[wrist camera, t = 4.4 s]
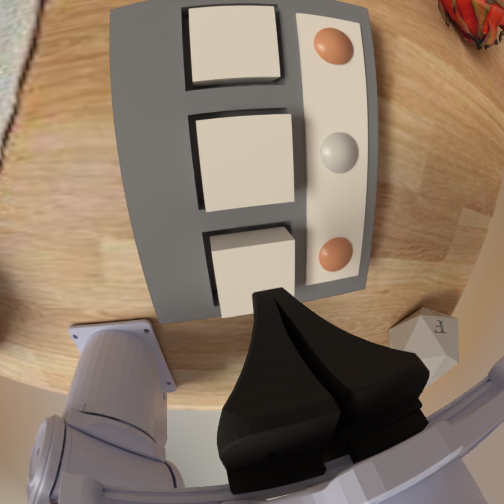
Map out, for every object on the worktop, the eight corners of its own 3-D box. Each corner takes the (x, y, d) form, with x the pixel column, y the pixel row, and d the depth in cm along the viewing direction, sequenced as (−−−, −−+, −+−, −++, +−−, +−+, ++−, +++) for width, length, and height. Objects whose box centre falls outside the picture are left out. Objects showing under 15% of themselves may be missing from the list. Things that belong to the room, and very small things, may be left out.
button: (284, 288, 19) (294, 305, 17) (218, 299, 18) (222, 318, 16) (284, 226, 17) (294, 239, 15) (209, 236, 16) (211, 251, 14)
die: (438, 308, 29) (482, 312, 20) (425, 373, 28) (463, 394, 19) (384, 302, 30) (420, 306, 21) (370, 371, 29) (400, 398, 20)
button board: (347, 269, 22) (367, 291, 19) (163, 299, 20) (159, 327, 17) (345, 19, 13) (370, 7, 10) (122, 25, 11) (108, 7, 8)
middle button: (282, 192, 16) (294, 201, 14) (204, 201, 15) (205, 212, 13) (279, 115, 14) (291, 113, 12) (196, 121, 13) (195, 120, 11)
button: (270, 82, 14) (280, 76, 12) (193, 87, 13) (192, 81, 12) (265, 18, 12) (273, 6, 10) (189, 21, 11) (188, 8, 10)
